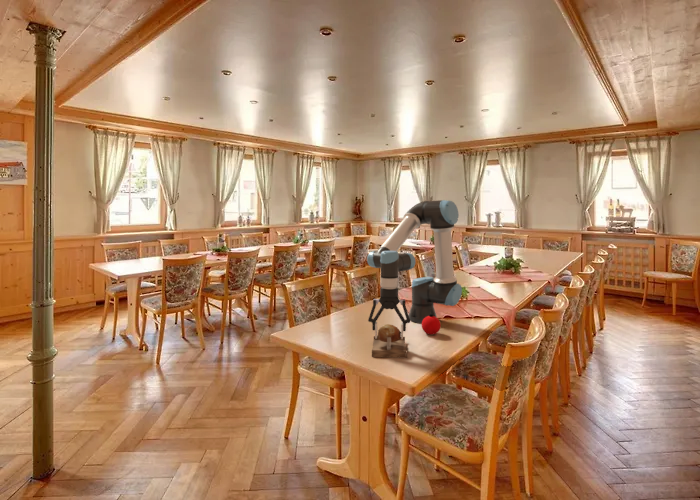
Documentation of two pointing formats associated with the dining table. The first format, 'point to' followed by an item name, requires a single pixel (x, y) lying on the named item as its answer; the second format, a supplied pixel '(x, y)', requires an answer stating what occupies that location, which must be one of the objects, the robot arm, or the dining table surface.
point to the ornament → (431, 324)
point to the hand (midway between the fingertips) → (389, 338)
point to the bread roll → (388, 333)
